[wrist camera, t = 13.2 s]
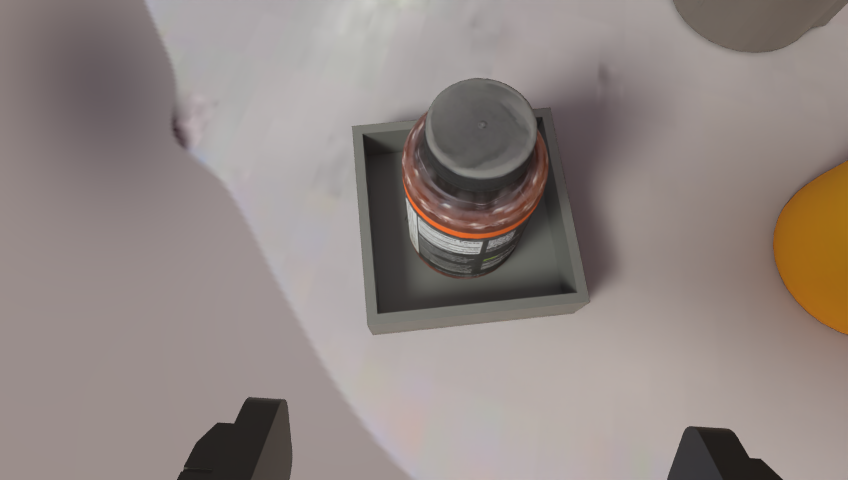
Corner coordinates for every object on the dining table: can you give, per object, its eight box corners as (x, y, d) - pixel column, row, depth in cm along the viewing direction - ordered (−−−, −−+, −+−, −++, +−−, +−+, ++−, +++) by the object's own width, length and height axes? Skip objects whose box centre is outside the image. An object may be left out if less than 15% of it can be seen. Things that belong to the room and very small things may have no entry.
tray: (538, 135, 32) (549, 107, 30) (573, 313, 29) (589, 301, 26) (358, 152, 32) (352, 126, 29) (372, 334, 29) (367, 325, 26)
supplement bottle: (449, 159, 31) (462, 23, 20) (538, 218, 30) (601, 106, 19) (385, 241, 30) (363, 140, 19) (476, 305, 29) (507, 236, 18)
